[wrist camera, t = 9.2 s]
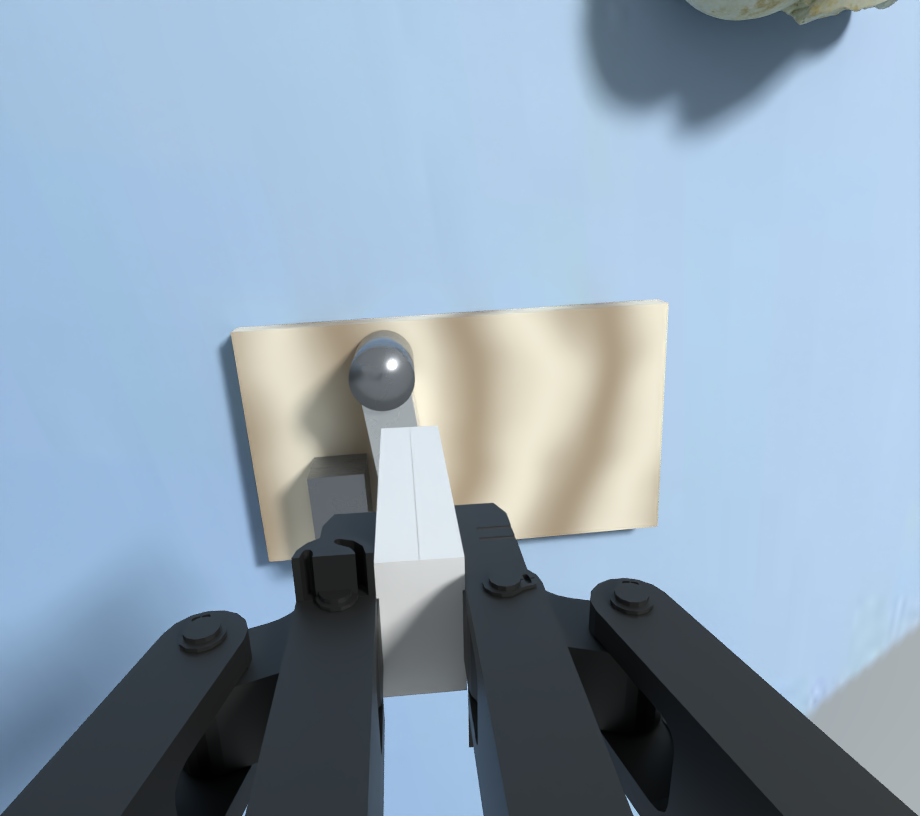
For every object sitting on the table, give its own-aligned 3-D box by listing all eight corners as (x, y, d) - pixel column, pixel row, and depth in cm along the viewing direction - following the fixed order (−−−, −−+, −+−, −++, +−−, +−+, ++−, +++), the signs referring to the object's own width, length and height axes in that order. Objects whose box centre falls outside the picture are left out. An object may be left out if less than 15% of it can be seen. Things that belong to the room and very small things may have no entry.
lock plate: (274, 548, 39) (269, 562, 38) (237, 327, 35) (230, 332, 33) (648, 515, 41) (657, 526, 39) (658, 299, 36) (668, 303, 35)
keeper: (324, 534, 38) (318, 561, 35) (314, 457, 36) (306, 478, 33) (375, 530, 38) (372, 556, 35) (366, 453, 36) (363, 474, 33)
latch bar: (349, 335, 34) (341, 353, 30) (407, 325, 34) (408, 342, 30) (396, 549, 38) (395, 591, 34) (448, 540, 38) (453, 580, 34)
